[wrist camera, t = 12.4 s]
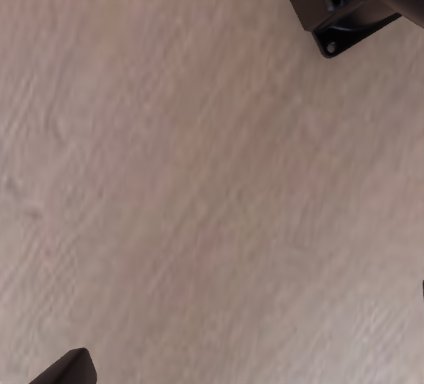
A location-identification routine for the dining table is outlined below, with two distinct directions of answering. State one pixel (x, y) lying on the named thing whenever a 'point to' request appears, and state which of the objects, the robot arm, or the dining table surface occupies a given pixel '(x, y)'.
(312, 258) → the dining table surface
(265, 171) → the dining table surface
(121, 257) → the dining table surface
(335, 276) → the dining table surface
